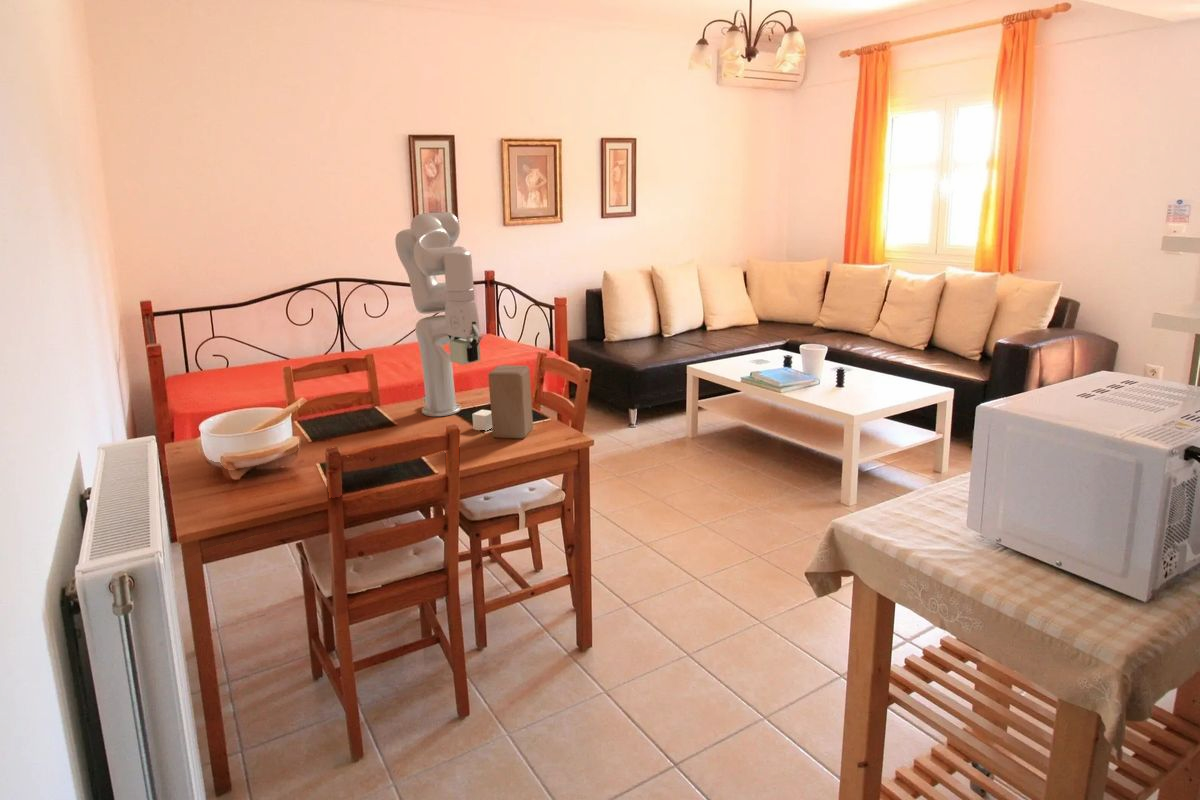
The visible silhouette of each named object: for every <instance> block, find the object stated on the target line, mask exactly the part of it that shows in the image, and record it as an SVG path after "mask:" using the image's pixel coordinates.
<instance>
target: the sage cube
mask: <svg viewBox="0 0 1200 800" xmlns="http://www.w3.org/2000/svg"><path fill="white" fill-rule="evenodd" d="M472 340H473V339H470V341H471V342H472ZM448 346H449V355H450V360H451V362H452V363H455V364H459V365H461V366H465V365H468V364H473V363H476V362H480V361H481V349H480V348H481V347H480V346H481V345H480V343H479V344H478V347H477V351H478V360H476V361H472V362H468V356H467V348H469V347H468V344H467V341H466V339H463V338H459V339H454V340H450V341H449V344H448Z"/></svg>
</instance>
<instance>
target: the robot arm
mask: <svg viewBox="0 0 1200 800" xmlns="http://www.w3.org/2000/svg"><path fill="white" fill-rule="evenodd" d="M460 226H461V225H460V221H459V220H458V217H457V216H456V215H455V213H452V212H449V211H442V212H424V213H420V214H417V215H415V216H414V217H413V218H412V219H411V222H410V228H407V229H402V230H400V231H399V232H397V234H396V235H395V239H394V243H395V248H396V250H395V251H396V253H397V256H398V258H399V261H400V262H401V264H402V266H403V268H404V269H405V271H406V274H407V277H408V281H409V285H410V290H411V295H412V300H413V303H414V307H415V310H416V311H417V312H418V313H419V314H423V315H429V314H430V315H431V314H438V313H441V314H440V315H431V316H426V317H423V318H421V319H419V320H418V321H417V322H416V323H415V335H416V339H417V342H418V347H419V352H420V357H421V358H420V359H421V367H422V368H421V369H422V376H423V384H424V394H425V397H422V398H421V401H422V402H423V403H424V404H425V406H423V407H422V408H421V413H422V414H423V415H425V416H429V417H447V416H452V415H454V414H457V413H459V412H460V411H461V410H462V406H461V404H460V403H457V402H456V394H455V393H456V392H455V382H454V381H455V380H454V379H455V378H454V370H453V369H454V368H453V362H451V360H450V353H448V351H446V350H445V349H444V348H443V347H444V346H447V345H448V346H449V341H450V340H454V339H459V338H463V339H466V341H467V344H468V347H469V348H467V356H468V362H472V361H476V360H478V351H477V347H478V344H480V342H481V340H482V339H483V335H482V333H481V331H480V321H479V315H478V310H477V309H478V308H477V305H476V301H475V289H474V288H475V287H474V275H473V274H474V273H473V260H472V259H473V258H472V254H471V251H469V250H467V249H466V248H465V247H464V246H461V245H460V246H459V245H458V246H456V245H455V244H456V242H457V241H458V238H459V235H460V232H461V227H460ZM454 245H455V246H454ZM442 275H443V276H444V279H445V281H444V282H438V280H437V277H436V276H442ZM442 313H444V314H442ZM470 339H473V340H472V342H471V341H470Z"/></svg>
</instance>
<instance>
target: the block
mask: <svg viewBox="0 0 1200 800" xmlns="http://www.w3.org/2000/svg"><path fill="white" fill-rule="evenodd" d="M487 379H488V388H489V389H488V390H489V400H490V403H489V404H490V411H491V416H492V429H491V430H492V436H493V437H494V438H498V439H499V438H500V439H504V438H505V439H524V438H526V436H528V434H529V433H531V431H532V430H533V427H534V420H533V407H532V406H533V403H532V390H531V389H532V387H531V371H530V367H529V366H528V365H509V364H506V365H505V364H504V365H503V364H500V365H497V366H496V367H495V368H494V369H492V370H491V371H490V372H489V373H488V378H487Z"/></svg>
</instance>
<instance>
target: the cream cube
mask: <svg viewBox="0 0 1200 800" xmlns="http://www.w3.org/2000/svg"><path fill="white" fill-rule="evenodd" d="M471 416H472V427H473V430H474V429H475V431H480V430H485V431H484V432H488V431H487V430H489V429H491V428H492V416H491V410H488V409H479V410H477V411H476V412H473V413H472V415H471ZM491 430H492V429H491ZM489 431H490V430H489Z"/></svg>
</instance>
